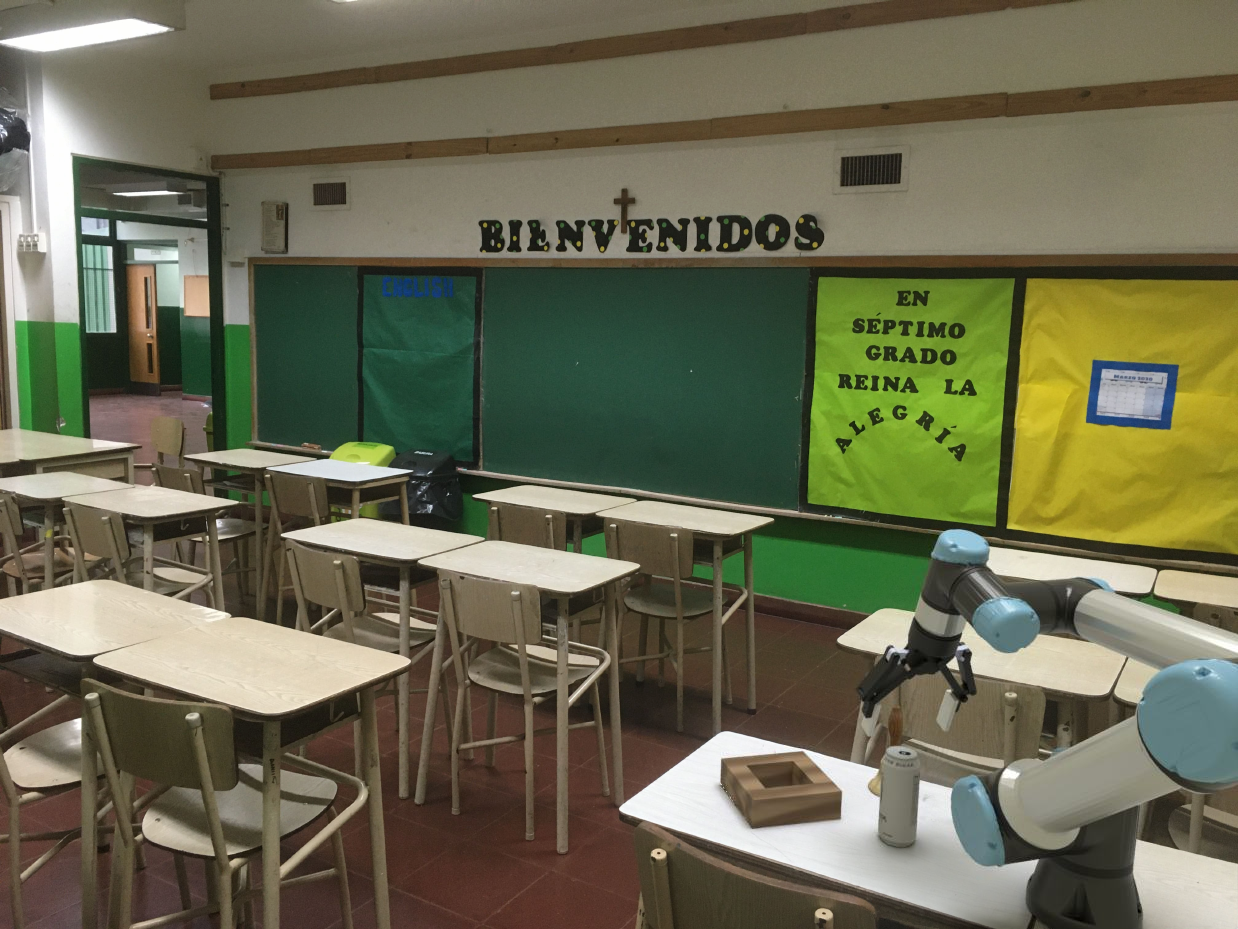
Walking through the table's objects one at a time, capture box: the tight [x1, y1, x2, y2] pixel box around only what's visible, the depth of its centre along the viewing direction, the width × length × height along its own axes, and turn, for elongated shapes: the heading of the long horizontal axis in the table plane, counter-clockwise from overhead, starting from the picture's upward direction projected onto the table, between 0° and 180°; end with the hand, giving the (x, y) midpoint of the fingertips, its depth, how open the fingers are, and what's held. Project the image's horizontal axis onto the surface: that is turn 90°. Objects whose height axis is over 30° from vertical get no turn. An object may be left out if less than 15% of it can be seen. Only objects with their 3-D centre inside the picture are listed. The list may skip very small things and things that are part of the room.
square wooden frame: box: [719, 750, 843, 829], centre depth 170 cm, size 16×16×5 cm
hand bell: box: [867, 704, 904, 798], centre depth 175 cm, size 8×8×16 cm
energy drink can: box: [877, 745, 922, 848], centre depth 157 cm, size 6×6×15 cm
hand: (904, 728), depth 159 cm, fingers open, 13 cm apart
